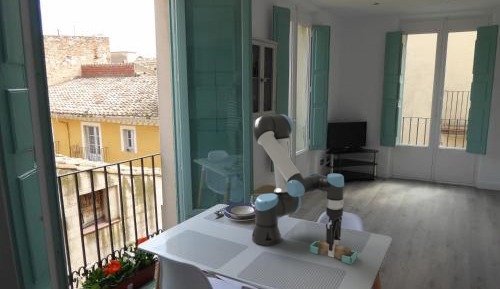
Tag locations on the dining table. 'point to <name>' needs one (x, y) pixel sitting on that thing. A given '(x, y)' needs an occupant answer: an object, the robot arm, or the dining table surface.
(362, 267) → the dining table surface
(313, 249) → the pair of teal brackets
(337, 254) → the batten
